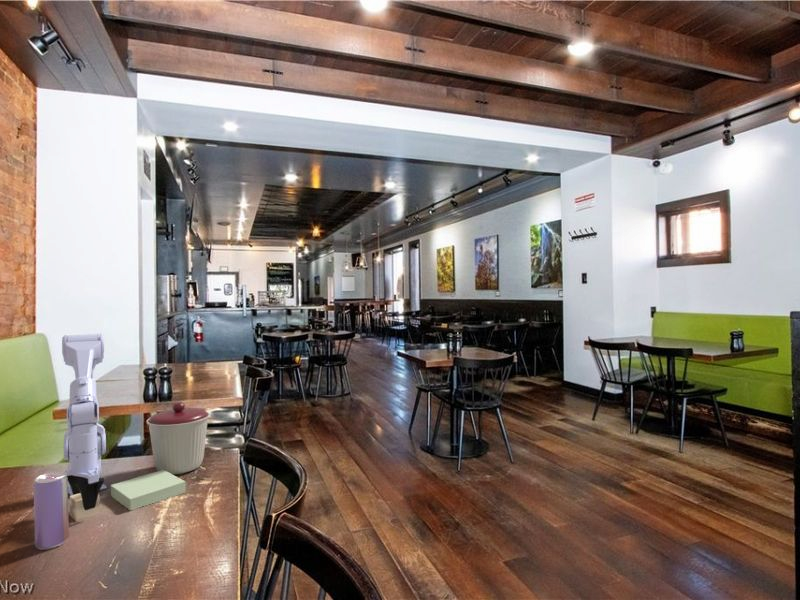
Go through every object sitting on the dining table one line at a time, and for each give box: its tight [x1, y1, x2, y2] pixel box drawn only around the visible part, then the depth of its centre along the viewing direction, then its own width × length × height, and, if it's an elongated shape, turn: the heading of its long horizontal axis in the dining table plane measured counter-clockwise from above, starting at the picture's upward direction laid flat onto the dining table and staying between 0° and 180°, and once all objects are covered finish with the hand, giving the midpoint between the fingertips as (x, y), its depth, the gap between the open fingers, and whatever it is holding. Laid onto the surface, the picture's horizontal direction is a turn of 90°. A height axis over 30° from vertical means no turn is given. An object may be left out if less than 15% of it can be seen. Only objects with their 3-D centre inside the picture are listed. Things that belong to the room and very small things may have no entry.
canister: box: [145, 401, 211, 476], centre depth 144 cm, size 18×18×21 cm
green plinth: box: [110, 470, 187, 511], centre depth 126 cm, size 14×14×3 cm
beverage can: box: [33, 471, 70, 551], centre depth 101 cm, size 6×6×15 cm
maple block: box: [69, 493, 101, 522], centre depth 114 cm, size 5×5×5 cm
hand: (84, 504), depth 114 cm, fingers open, 7 cm apart
